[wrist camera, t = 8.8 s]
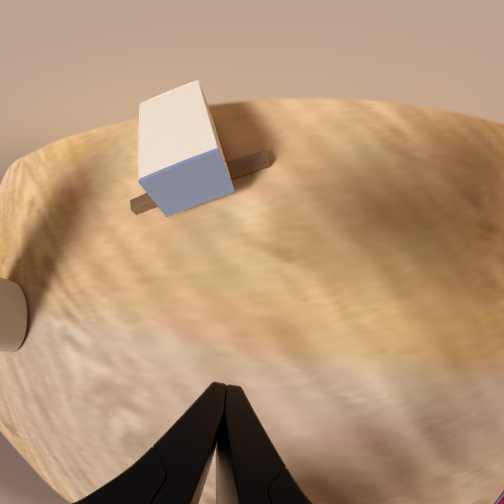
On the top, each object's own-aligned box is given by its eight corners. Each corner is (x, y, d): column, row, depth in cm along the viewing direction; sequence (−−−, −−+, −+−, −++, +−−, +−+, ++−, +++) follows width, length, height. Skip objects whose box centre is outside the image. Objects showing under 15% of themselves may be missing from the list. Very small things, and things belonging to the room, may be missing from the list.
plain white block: (218, 151, 17) (197, 79, 22) (138, 182, 17) (139, 103, 22) (235, 192, 21) (211, 116, 26) (166, 216, 21) (159, 136, 26)
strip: (270, 166, 23) (269, 160, 22) (136, 214, 24) (131, 210, 23) (266, 157, 23) (265, 150, 22) (135, 205, 24) (130, 200, 23)
